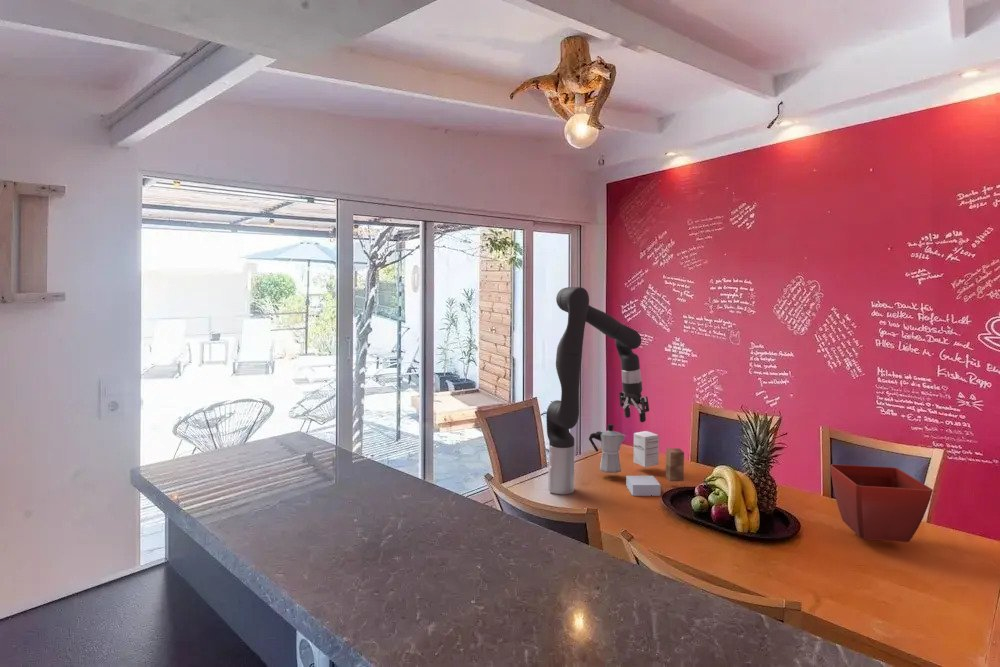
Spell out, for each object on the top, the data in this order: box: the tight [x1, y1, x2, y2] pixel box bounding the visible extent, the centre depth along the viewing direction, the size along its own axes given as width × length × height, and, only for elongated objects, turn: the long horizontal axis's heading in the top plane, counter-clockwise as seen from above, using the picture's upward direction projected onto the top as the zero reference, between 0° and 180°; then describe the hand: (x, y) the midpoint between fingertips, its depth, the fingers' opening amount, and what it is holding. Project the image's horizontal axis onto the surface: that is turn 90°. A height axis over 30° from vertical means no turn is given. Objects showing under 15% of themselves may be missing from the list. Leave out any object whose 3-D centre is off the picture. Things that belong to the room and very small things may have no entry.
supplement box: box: [633, 430, 660, 468], centre depth 223 cm, size 7×7×13 cm
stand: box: [625, 475, 662, 497], centre depth 202 cm, size 10×10×4 cm
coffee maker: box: [588, 423, 628, 474], centre depth 216 cm, size 15×9×18 cm, turn 84°
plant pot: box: [829, 463, 934, 543], centre depth 160 cm, size 19×19×17 cm
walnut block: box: [665, 448, 685, 482], centre depth 206 cm, size 5×5×11 cm
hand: (635, 419), depth 219 cm, fingers open, 8 cm apart
